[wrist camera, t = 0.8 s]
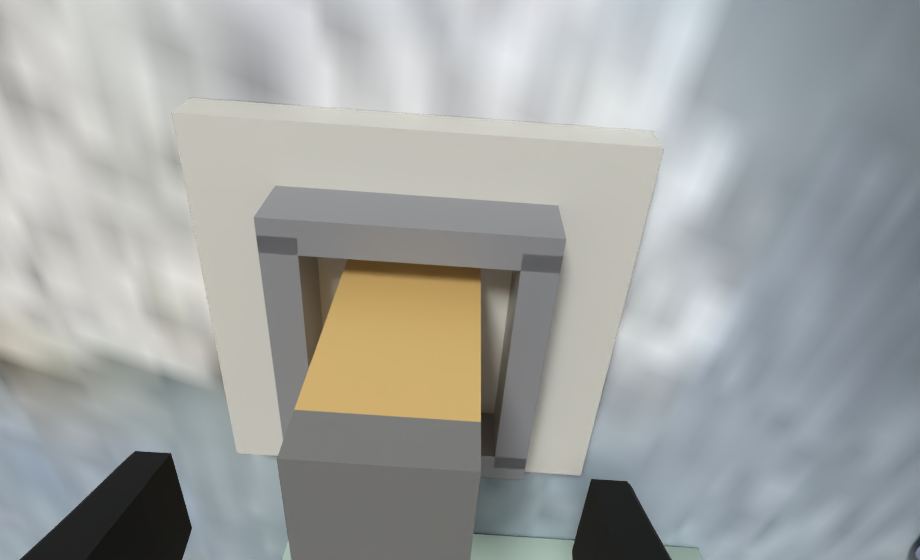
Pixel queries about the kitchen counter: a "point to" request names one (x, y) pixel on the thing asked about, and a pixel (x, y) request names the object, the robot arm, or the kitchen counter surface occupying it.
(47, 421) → the kitchen counter surface
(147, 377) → the kitchen counter surface
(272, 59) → the kitchen counter surface
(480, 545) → the parts tray
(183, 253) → the kitchen counter surface
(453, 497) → the block
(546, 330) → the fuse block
